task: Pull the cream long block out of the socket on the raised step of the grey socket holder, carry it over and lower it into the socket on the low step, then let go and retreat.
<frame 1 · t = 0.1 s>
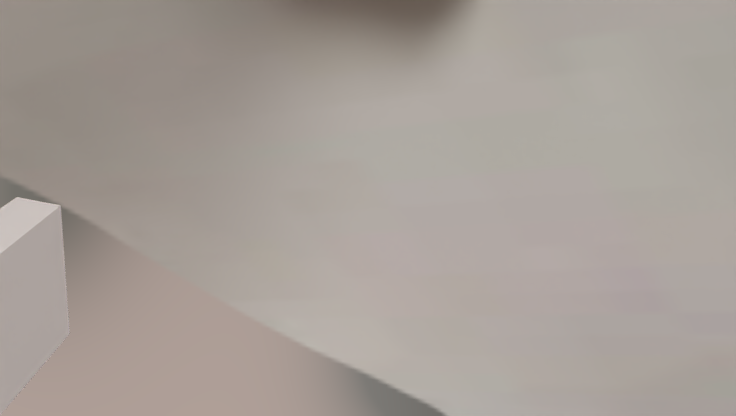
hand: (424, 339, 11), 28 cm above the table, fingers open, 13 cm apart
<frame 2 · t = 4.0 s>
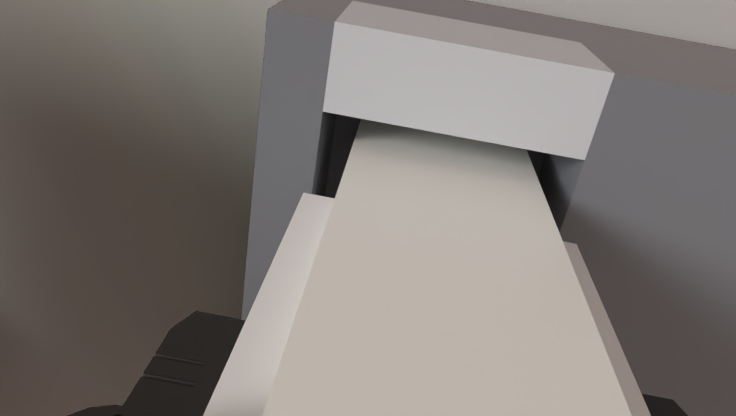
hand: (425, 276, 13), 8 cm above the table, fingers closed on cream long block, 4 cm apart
grey socket holder: (540, 285, 22), on the table
cream long block: (426, 193, 16), point 4 cm above the table, touching gripper, grey socket holder
when the fingers open (6 cm above the table, at t = 8.9 s): cream long block drops 1 cm, resting on grey socket holder.
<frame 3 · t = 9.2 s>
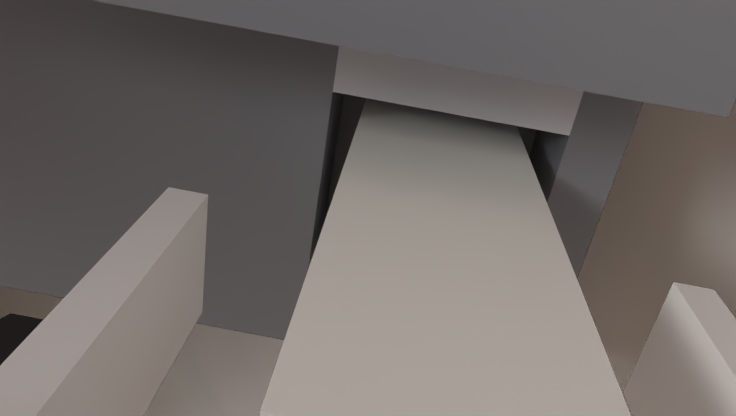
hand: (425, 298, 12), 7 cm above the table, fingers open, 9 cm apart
cream long block: (426, 170, 18), resting on grey socket holder
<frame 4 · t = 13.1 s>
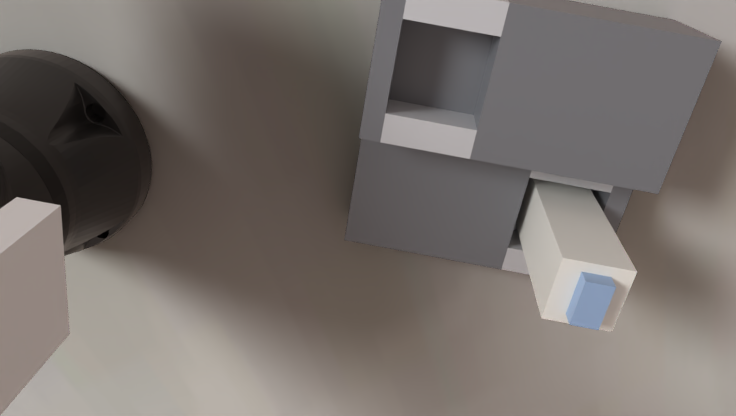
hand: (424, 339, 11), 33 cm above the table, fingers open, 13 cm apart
grey socket holder: (496, 128, 43), on the table
cream long block: (549, 201, 44), resting on grey socket holder
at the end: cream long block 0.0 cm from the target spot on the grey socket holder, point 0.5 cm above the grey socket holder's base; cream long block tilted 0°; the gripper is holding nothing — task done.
